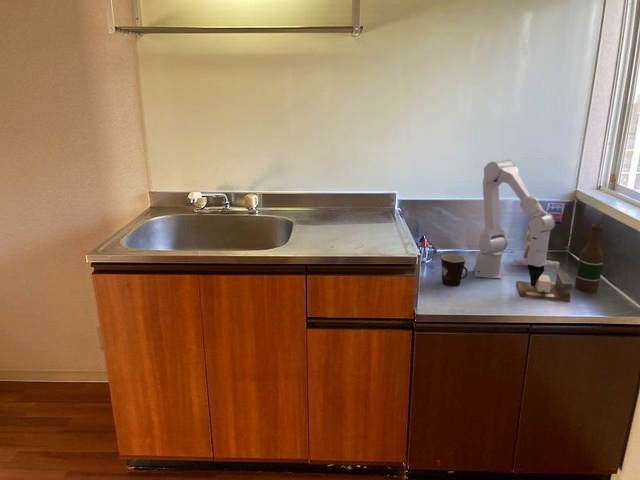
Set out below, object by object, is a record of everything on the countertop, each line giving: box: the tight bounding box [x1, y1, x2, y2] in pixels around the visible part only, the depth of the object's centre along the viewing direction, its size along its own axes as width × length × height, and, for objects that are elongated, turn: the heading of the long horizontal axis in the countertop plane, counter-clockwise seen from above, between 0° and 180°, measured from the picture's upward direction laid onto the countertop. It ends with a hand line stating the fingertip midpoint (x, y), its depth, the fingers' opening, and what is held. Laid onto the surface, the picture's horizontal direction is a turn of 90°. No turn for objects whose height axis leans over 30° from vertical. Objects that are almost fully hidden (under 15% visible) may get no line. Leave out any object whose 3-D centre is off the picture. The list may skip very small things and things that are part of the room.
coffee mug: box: [440, 253, 468, 287], centre depth 179 cm, size 12×9×10 cm
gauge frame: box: [515, 272, 573, 303], centre depth 173 cm, size 16×12×6 cm
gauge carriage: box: [535, 274, 556, 295], centre depth 171 cm, size 6×9×4 cm
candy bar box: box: [523, 223, 531, 269], centre depth 196 cm, size 11×5×16 cm, turn 168°
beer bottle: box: [574, 223, 604, 294], centre depth 174 cm, size 8×8×24 cm
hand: (532, 285), depth 173 cm, fingers closed
